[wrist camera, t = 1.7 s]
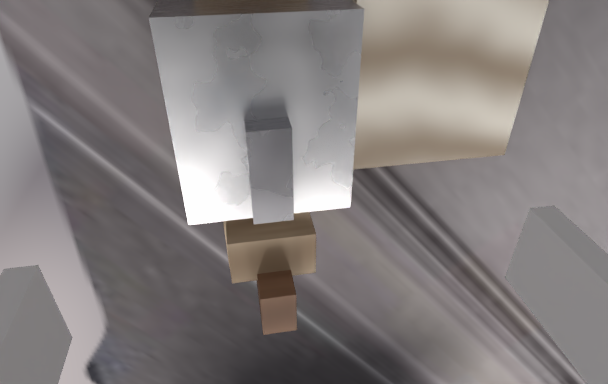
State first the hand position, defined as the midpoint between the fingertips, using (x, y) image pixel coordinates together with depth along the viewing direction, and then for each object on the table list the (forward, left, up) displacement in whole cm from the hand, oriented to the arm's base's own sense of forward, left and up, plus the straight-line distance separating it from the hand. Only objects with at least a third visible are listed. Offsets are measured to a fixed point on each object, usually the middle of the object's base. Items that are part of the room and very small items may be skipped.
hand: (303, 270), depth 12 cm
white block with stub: (0, 0, -14) cm, 14 cm away
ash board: (0, -12, -18) cm, 21 cm away
